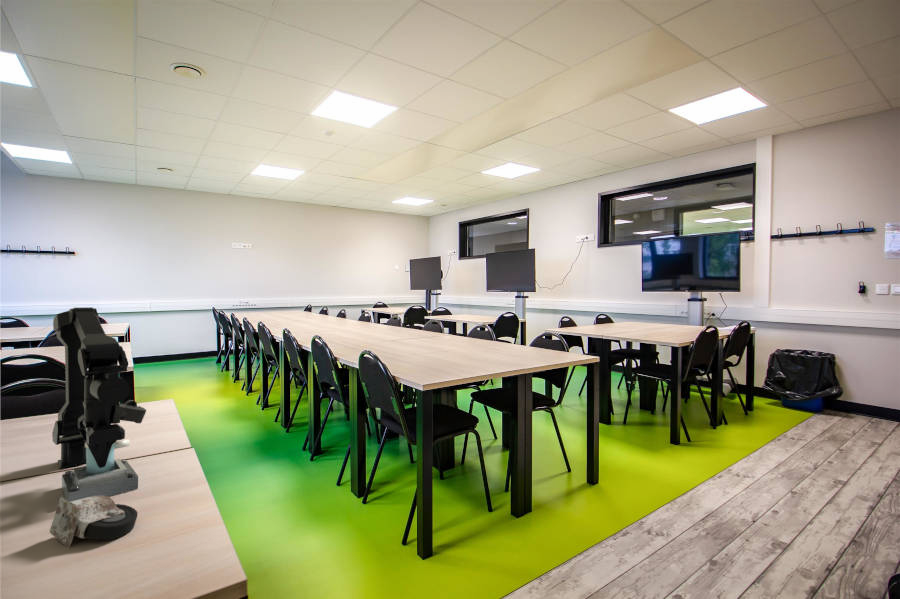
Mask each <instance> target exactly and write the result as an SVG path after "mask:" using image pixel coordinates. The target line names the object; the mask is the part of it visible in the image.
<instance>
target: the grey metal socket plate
mask: <svg viewBox="0 0 900 599" xmlns="http://www.w3.org/2000/svg"><path fill="white" fill-rule="evenodd" d="M61 488H62V492H63V495H64V499H65V500H66V501H68V502H72V501H75V500H79V499H83V498H87V497H91V496H107V497H109V498H110V497H112V496H115V495H119V494H123V493H127V492H130V491H135V490H138V489H139V475H138V474H137V473H136V471H135V470H134V469H133V466H131V465H130V463H129V462H128V460H126V459H124V458H123V459H121V458H117V459H114V468H113V469H111V470H108V471H105V472H101V473H95V474H89V473H87V472H86V465H85V466H79V467H75V468H73V470H68V471H65V472H64V473H63V474H61Z"/></svg>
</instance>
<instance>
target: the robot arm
mask: <svg viewBox="0 0 900 599" xmlns="http://www.w3.org/2000/svg"><path fill="white" fill-rule="evenodd" d="M99 318H100V317H99V313H98V309H97V308H94V307H73V308H69V310H66V311H63V312H60V313H57V314H56V315H55V317H53V322H52V323H53V324H52V325H53V326H52V327H53V328H52V329H53V331H54V332H56V338H57V340H59V342H60V343H61V344H62V345H63V346H64V356H65V357H64V358H65V360H64V363H65V364H64V365H65V367H64V368H65V371H64V372H65V403H64V405H63V406H61V409H60V410H59V412H58V414H57V420H55V422H54V426H53V429H52V433H51V434H52V442H53V443H54V444H55V445H56V446H57V445H59V446H60V459H58V460H57V464H58V467H59V469H65V468H70V467H76V466H78V465H79V466H80V465H83V464H86V447H85V443H87V445H88V447H89V449H90V451H91V453H92V455H93V457H94V459H95V461H96V463H97V465H98V467H99V468H102V467H105V466H106V462H107V459H108V456H109V453H110V450H111V447H112V445H113V443H115V442H117V441H122V440H126V439H125V438H126V431H125V430H126V429H124V427H123V426H121V425H120V423H121V421H124V422H133V423H134V424H142V422H143V420H144V417H145V416H146V412H147V409H146V408H144V407H142V406H140V405H138V402H137V401H136V400H133V399H128V400H126V402H124V403H121V402H123V401H124V400H125V399H126V398H127V397H128V396H129V394H130V388H131V386H130V384H129V382H128V381H127V380H126V379H124V378H122V377H120V373H125V372H128V367H129V361H128V358H127V354H126V351H125V350H124V349H123V346H121V345H120V343H119V342H118V341H117V339H116V338H114V337H113V336H109V335H107V334H106V332H105V331H104V328H103V326H102V324H101V322H100V319H99Z"/></svg>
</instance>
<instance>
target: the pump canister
mask: <svg viewBox="0 0 900 599" xmlns="http://www.w3.org/2000/svg"><path fill="white" fill-rule="evenodd" d="M85 447H86V463H85V466H86V472H87V473H89V474H95V473H101V472H105V471H108V470H111V469H113V468H114V460H115V450H117V449H121V448H122V449H123V448H125V447H130V439H122V440H117V441H116V442H115V443H113V445H112V447H111V450H110V453H109V456H108V459H107V462H106V466H105V467H102V468H99V467H98V465H97V463H96V461H95V459H94V457H93V455H92V453H91V451H90V449H89V447H88V445H87V443H85Z"/></svg>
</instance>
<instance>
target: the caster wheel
mask: <svg viewBox="0 0 900 599" xmlns="http://www.w3.org/2000/svg"><path fill="white" fill-rule="evenodd" d="M55 510H56V511H55V513H54V517H53V518H52V519H53V520H52V523H51V525H50V528H49V533H50V534H51V535H52V536H53V537H54V538H56V540H58V541H59V542H61V543H62V544H63V545H64V546H65V547H67V548H69V547H70V548H71V545H72V543H73V538H74V537H76V538H80V539H91V540H94V541H95V540H96V541H108V540H115V539H119V538H121V537H124V536H126V535H128V534H129V533H131V531H133V529H134V528H135V526H136V522H137V518H138V514H139V513H138V511H137V510H136V509H135V508H134V507H132V506H130V505H126V504H120V503H116V502H115V501H114V500H113V499H112V498H111V497H110V496H109V497H107V496H91V497H87V498H83V499H79V500H75V501H72V502H68V501H66V498H65V497H64V498H63V497H62V496H60V497H59V501H58V504H57V507H56V509H55Z"/></svg>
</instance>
